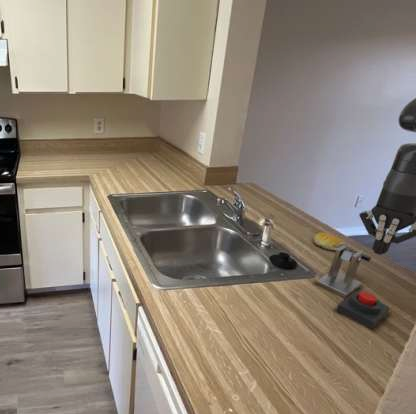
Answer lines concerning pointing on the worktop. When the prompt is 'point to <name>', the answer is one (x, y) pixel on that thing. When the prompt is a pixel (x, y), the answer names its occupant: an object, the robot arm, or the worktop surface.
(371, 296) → the button
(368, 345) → the worktop surface
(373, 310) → the button block
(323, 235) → the bread roll
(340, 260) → the lever bracket
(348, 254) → the press lever
